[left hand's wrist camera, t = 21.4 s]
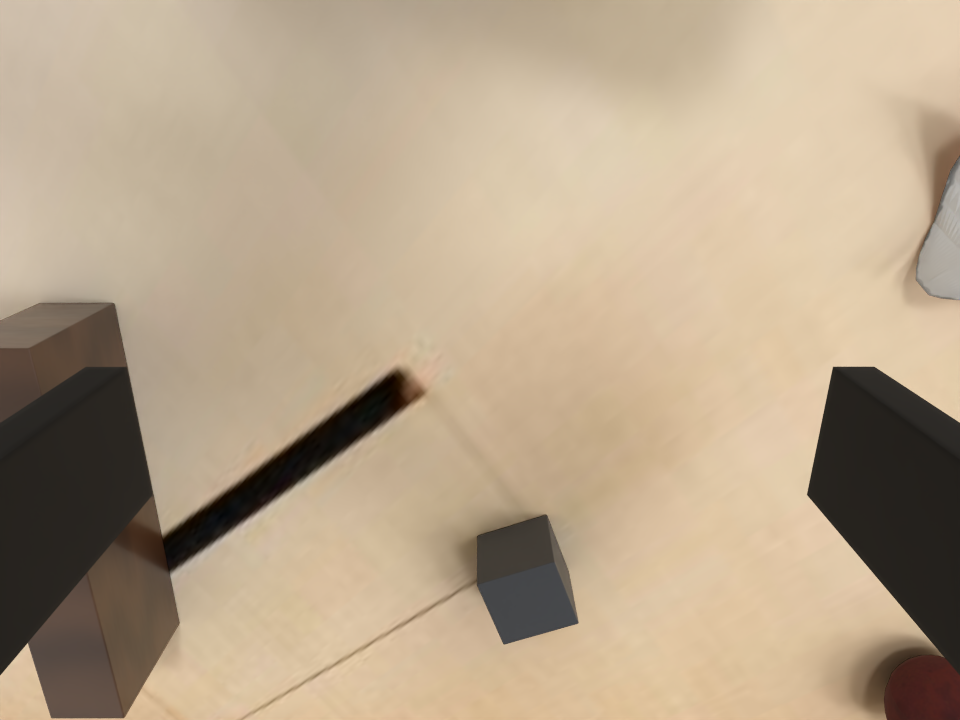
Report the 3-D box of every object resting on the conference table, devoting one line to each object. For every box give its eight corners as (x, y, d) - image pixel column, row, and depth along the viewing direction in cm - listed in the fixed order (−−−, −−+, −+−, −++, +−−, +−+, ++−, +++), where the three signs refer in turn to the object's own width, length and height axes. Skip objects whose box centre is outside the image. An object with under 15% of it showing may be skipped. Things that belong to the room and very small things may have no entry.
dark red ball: (886, 725, 51) (945, 816, 45) (846, 660, 49) (903, 746, 42) (979, 685, 50) (1055, 773, 43) (943, 616, 47) (1018, 698, 41)
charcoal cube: (477, 535, 45) (476, 585, 41) (546, 514, 45) (554, 561, 40) (501, 591, 47) (503, 645, 42) (568, 571, 46) (578, 623, 42)
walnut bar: (38, 302, 39) (-65, 348, 32) (114, 302, 39) (28, 348, 32) (117, 623, 48) (50, 718, 40) (180, 623, 48) (124, 718, 40)
